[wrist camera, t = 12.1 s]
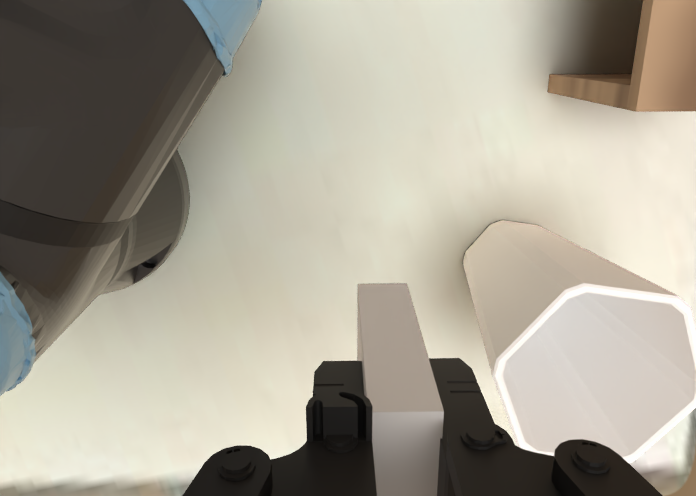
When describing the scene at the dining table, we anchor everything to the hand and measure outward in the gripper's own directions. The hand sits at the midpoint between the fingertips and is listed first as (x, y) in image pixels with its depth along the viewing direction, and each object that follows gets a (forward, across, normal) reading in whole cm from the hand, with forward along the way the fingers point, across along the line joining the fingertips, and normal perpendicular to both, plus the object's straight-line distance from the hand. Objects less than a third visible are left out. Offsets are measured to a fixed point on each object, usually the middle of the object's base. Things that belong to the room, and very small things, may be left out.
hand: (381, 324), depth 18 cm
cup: (+27, +12, -8) cm, 30 cm away
